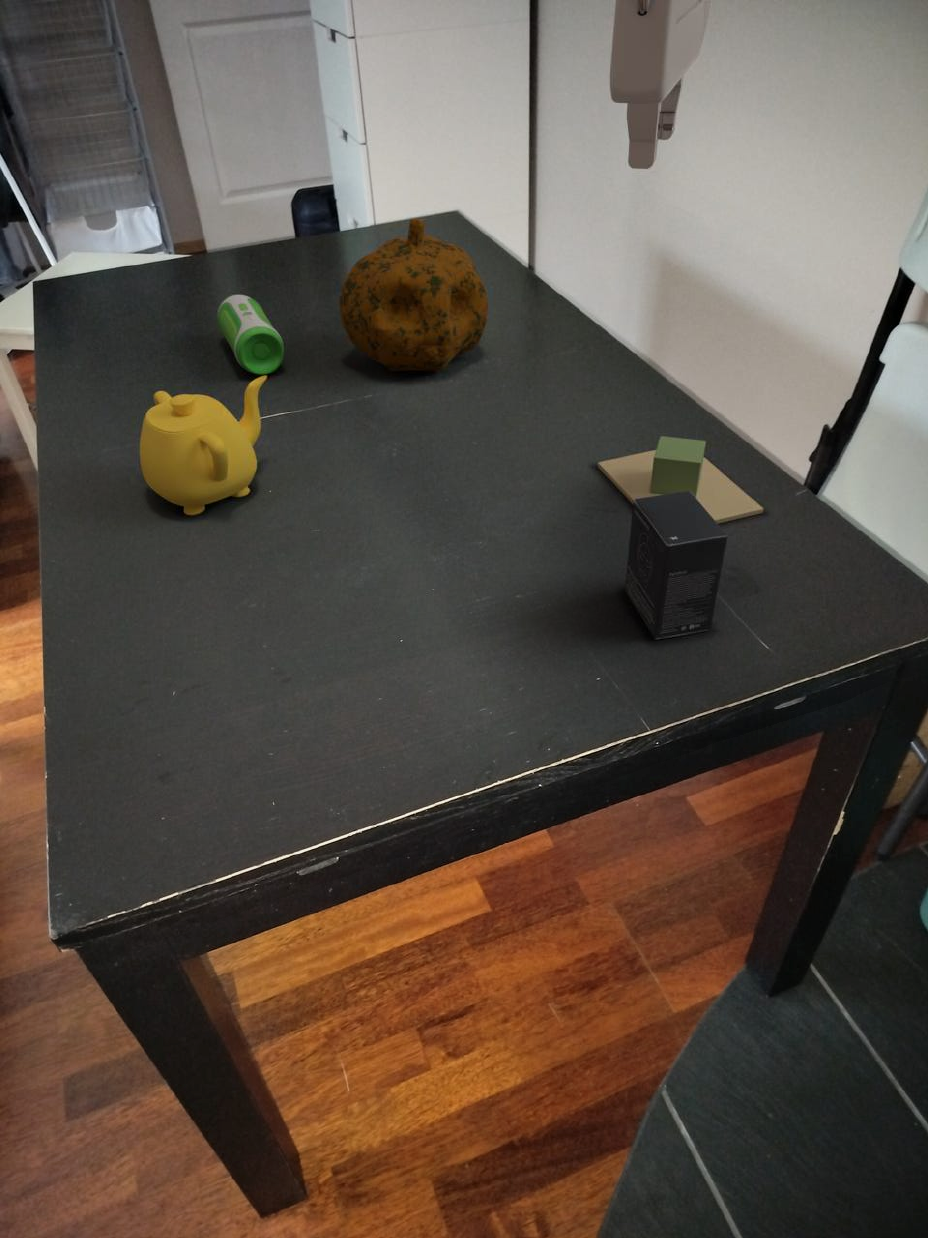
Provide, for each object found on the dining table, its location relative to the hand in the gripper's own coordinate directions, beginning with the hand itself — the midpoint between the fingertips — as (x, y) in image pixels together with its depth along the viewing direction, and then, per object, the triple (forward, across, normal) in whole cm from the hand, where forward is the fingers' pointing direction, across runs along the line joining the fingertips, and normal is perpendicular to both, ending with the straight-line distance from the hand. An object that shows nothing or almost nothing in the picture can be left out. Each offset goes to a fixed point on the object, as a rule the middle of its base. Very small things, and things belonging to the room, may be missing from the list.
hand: (652, 151), depth 65 cm
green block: (+36, +14, -4) cm, 39 cm away
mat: (+37, +14, -4) cm, 40 cm away
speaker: (+37, +37, +63) cm, 82 cm away
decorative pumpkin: (+37, +42, +38) cm, 68 cm away
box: (+37, -8, -6) cm, 39 cm away
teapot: (+37, +2, +48) cm, 61 cm away
